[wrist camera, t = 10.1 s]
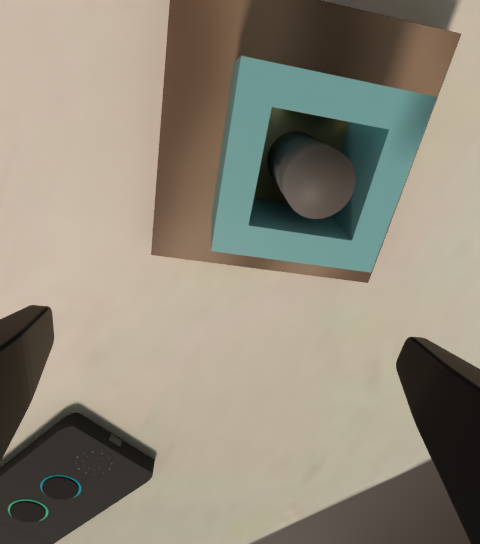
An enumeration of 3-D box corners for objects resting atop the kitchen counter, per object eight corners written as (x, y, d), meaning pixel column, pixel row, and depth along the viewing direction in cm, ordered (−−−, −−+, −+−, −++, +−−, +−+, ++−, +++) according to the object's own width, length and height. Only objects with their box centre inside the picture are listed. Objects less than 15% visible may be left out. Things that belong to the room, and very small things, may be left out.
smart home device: (158, 478, 28) (1, 581, 33) (160, 457, 29) (10, 558, 34) (66, 424, 24) (-93, 547, 30) (74, 403, 26) (-78, 524, 31)
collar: (211, 216, 17) (211, 250, 14) (234, 62, 14) (241, 55, 11) (340, 235, 18) (371, 272, 15) (385, 93, 15) (437, 97, 12)
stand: (155, 243, 20) (129, 313, 14) (176, -25, 15) (150, -99, 9) (358, 270, 22) (415, 344, 16) (441, 37, 17) (576, 11, 11)
